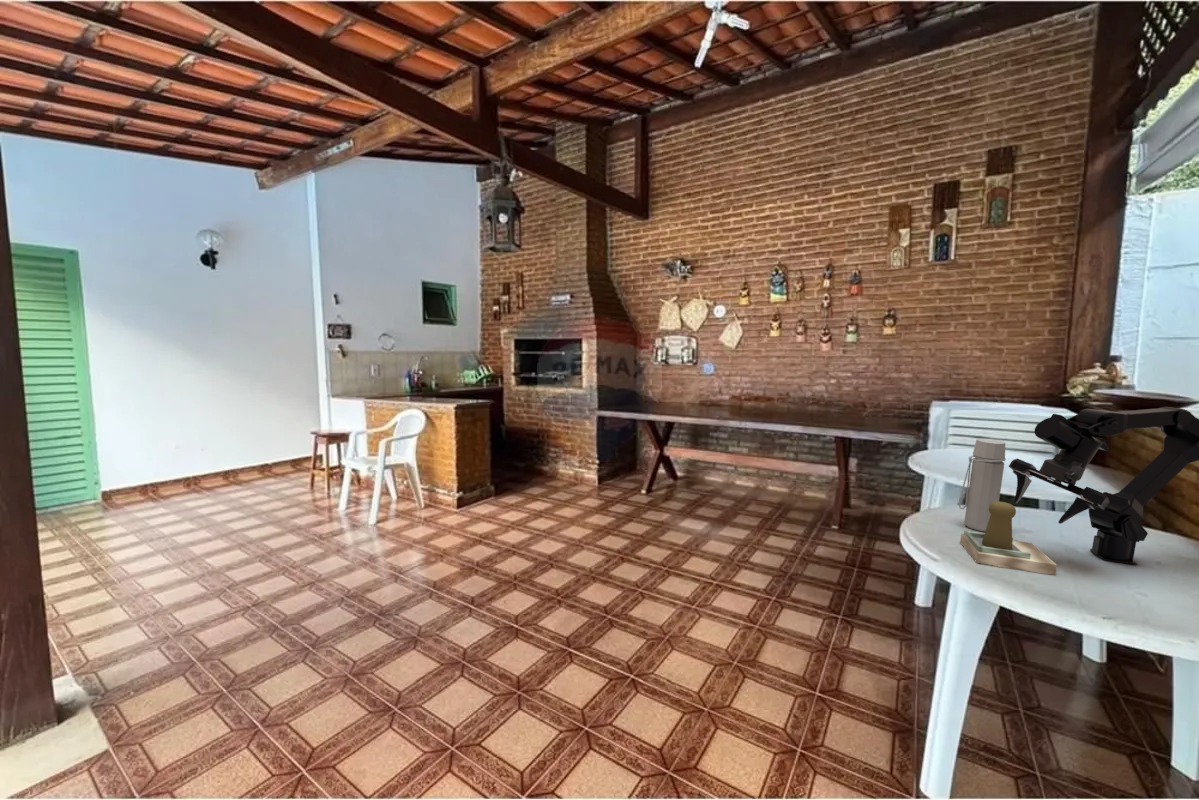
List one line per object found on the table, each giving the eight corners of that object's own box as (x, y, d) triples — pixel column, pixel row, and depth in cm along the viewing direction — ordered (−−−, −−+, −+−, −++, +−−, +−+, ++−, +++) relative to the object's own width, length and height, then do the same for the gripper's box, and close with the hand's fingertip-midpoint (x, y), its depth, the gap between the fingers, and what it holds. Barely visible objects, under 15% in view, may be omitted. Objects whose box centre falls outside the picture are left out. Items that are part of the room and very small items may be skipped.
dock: (1029, 552, 130) (1032, 538, 129) (1055, 575, 118) (1057, 559, 117) (960, 542, 135) (961, 529, 134) (977, 563, 122) (979, 548, 122)
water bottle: (989, 524, 148) (1001, 439, 144) (1000, 535, 140) (1013, 445, 137) (951, 520, 151) (962, 436, 147) (960, 529, 143) (972, 442, 140)
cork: (1015, 553, 122) (1021, 509, 121) (983, 547, 125) (990, 504, 123) (1009, 544, 127) (1016, 501, 126) (979, 539, 130) (985, 497, 129)
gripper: (1021, 432, 126) (985, 486, 128) (1118, 467, 112) (1077, 528, 113) (1032, 444, 133) (998, 495, 135) (1125, 479, 118) (1086, 536, 120)
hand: (1036, 512), depth 126 cm, fingers open, 9 cm apart
